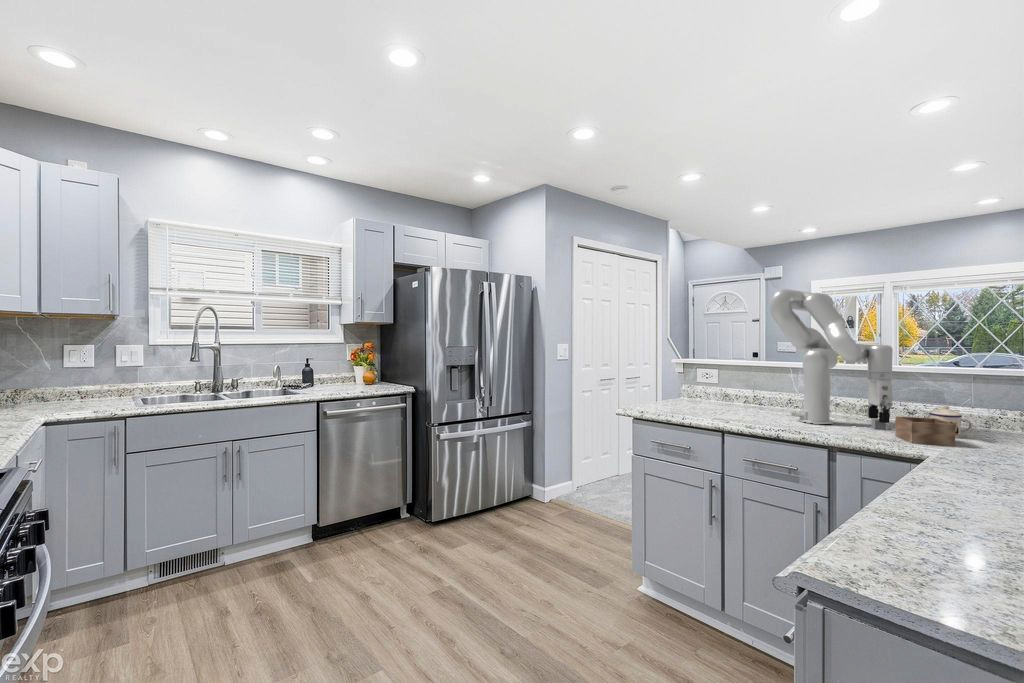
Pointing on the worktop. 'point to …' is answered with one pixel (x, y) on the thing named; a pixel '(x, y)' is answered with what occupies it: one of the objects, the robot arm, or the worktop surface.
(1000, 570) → the worktop surface
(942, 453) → the worktop surface
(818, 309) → the robot arm
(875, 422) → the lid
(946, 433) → the box
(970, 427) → the teacup with lid
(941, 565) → the worktop surface
